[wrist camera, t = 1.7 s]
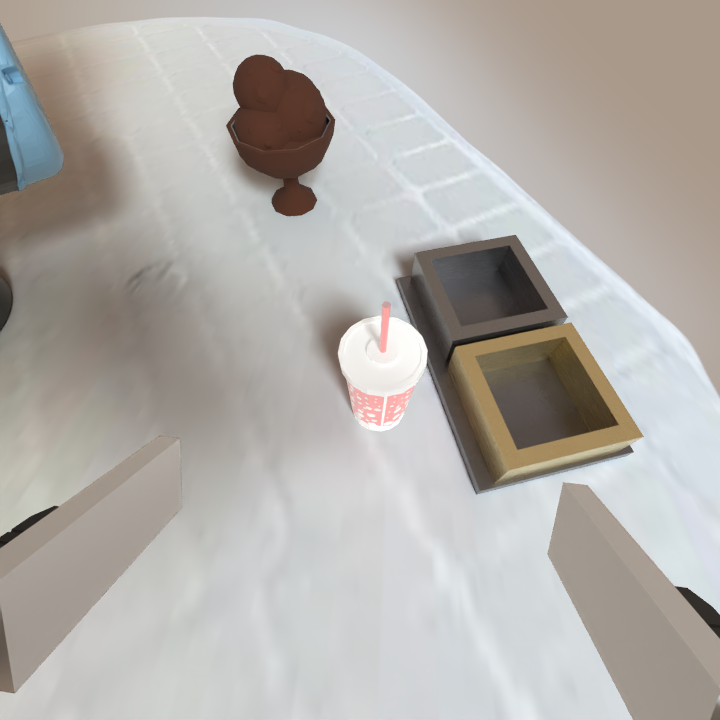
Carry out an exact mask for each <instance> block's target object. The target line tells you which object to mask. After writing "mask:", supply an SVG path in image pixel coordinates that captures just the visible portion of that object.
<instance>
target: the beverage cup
mask: <svg viewBox="0 0 720 720" xmlns="http://www.w3.org/2000/svg"><path fill="white" fill-rule="evenodd" d="M390 306H391V304H390V303H389V302H384V303H383V305H382V316H376V317H371V318H366V319H363V320H361V321H359V322H358V323H356V324H354V325H353V326H351V327H350V328H349V329H348V330H347V332H346V333H345V334H344V336H343V337H342V338H341V341H340V346H339V350H338V357H339V362H340V366H341V370H342V374H343V375H344V376H345V378H346V380H347V385H348V390H349V395H350V399H351V404H352V409H353V413H354V417H355V418H356V419H357V421H358V422H359V423H360V425H362V426H364V427H366V428H367V429H369V430H375V431H384V430H388V429H391V428H392V427H394V426H395V425H397V424H398V423H399V422H400V420H401V418H402V417H403V415H404V412H405V410H406V407H407V405H408V402H409V399H410V397H411V394H412V392H413V389H414V386H415V384H417V382H418V380H419V379H420V377H421V375H422V374H423V372H424V369H425V368H426V363H427V352H428V350H427V347H426V345H425V342H424V339H423V337H422V335H421V334H420V333H419V332H418V331H417V330H416V329H415V328H414V327H413V326H412V325H410V324H408V323H406V322H404V321H402V320H400V319H398V318H394V317H390Z"/></svg>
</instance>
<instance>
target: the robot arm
mask: <svg viewBox="0 0 720 720" xmlns="http://www.w3.org/2000/svg"><path fill="white" fill-rule="evenodd" d="M63 164H64V155H63V151H62V149H61V146H60V144H59V142H58V139H57V137H56V135H55V133H54V131H53V128H52V126H51V124H50V122H49V120H48V118H47V116H46V114H45V112H44V109H43V107H42V105H41V103H40V101H39V99H38V97H37V95H36V93H35V91H34V89H33V87H32V85H31V83H30V81H29V79H28V77H27V75H26V73H25V71H24V69H23V67H22V65H21V63H20V61H19V59H18V57H17V55H16V53H15V51H14V49H13V47H12V45H11V43H10V41H9V39H8V37H7V35H6V33H5V31H4V30H3V28H2V26H1V24H0V195H2V194H5V193H9V192H12V191H16V190H18V191H22V190H23V189H25V188H26V186H27V185H30V184H33V183H36V182H38V181H41V180H44V179H47V178H50V177H52V176H55V175H56V174H57V173H59V172H60V171H61V169H62V166H63ZM11 303H12V295H11V290H10V288H9V285H8V284H7V282H6V281H5V280H4V279H3V278H2V277H1V276H0V329H1V328H2V326H3V325H4V323H5V321H6V319H7V317H8V315H9V312H10V308H11ZM181 508H182V479H181V447H180V438H174V437H165V436H159V437H157V438H156V439H154V440H153V441H151V442H150V443H149V444H147V445H146V446H144V447H143V448H142V449H140V450H139V451H137V452H136V453H134V454H133V455H132V456H130V457H129V458H127V459H126V460H125V461H123V462H122V463H120V464H119V465H118V466H116V467H115V468H113V469H112V470H110V471H109V472H108V473H106V474H105V475H103V476H102V477H101V478H99V479H98V480H96V481H95V482H93V483H92V484H91V485H89V486H88V487H86V488H85V489H84V490H82V491H81V492H79V493H78V494H77V495H75V496H74V497H72V498H71V499H69V500H68V501H67V502H65V503H64V504H62V505H61V506H60V507H59V506H53V507H51V508H49V509H46V510H44V511H42V512H39V513H37V514H35V515H33V516H31V517H29V518H28V519H26V520H25V521H23V522H22V523H20V524H19V525H17V526H16V527H14V528H13V529H12V531H11V532H7V533H6V534H4V535H3V536H1V537H0V691H3V692H9V693H16V692H17V690H18V689H19V688H20V687H21V686H22V685H23V684H24V683H25V682H26V680H27V679H28V678H29V677H30V676H31V675H32V674H33V673H34V672H35V670H36V669H37V668H38V667H39V666H40V665H41V664H42V663H43V662H44V660H45V659H46V658H47V657H48V656H49V655H50V654H51V653H52V652H53V650H54V649H55V648H56V647H57V646H58V645H59V644H60V643H61V642H62V640H63V639H64V638H65V637H66V636H67V635H68V634H69V633H70V632H71V630H72V629H73V628H74V627H75V626H76V625H77V624H78V623H79V622H80V620H81V619H82V618H83V617H84V616H85V615H86V614H87V613H88V612H89V610H90V609H91V608H92V607H93V606H94V605H95V604H96V603H97V602H98V600H99V599H100V598H101V597H102V596H103V595H104V594H105V593H106V592H107V590H108V589H109V588H110V587H111V586H112V585H113V584H114V583H115V582H116V580H117V579H118V578H119V577H120V576H121V575H122V574H123V573H124V571H125V570H126V569H127V568H128V567H129V566H130V565H131V564H132V563H133V561H134V560H135V559H136V558H137V557H138V556H139V555H140V554H141V553H142V551H143V550H144V549H145V548H146V547H147V546H148V545H149V544H150V543H151V541H152V540H153V539H154V538H155V537H156V536H157V535H158V534H159V533H160V531H161V530H162V529H163V528H164V527H165V526H166V525H167V524H168V523H169V521H170V520H171V519H172V518H173V517H174V516H175V515H176V514H177V513H178V511H179V510H180V509H181ZM548 556H549V558H550V560H551V562H552V564H553V566H554V568H555V570H556V571H557V573H558V575H559V577H560V579H561V581H562V583H563V585H564V587H565V589H566V591H567V593H568V595H569V597H570V599H571V600H572V602H573V604H574V606H575V608H576V610H577V612H578V614H579V616H580V618H581V620H582V622H583V624H584V626H585V628H586V629H587V631H588V633H589V635H590V637H591V639H592V641H593V643H594V645H595V647H596V649H597V651H598V653H599V655H600V657H601V658H602V660H603V662H604V664H605V666H606V668H607V670H608V672H609V674H610V676H611V678H612V680H613V682H614V684H615V686H616V687H617V689H618V691H619V693H620V695H621V697H622V699H623V701H624V703H625V705H626V707H627V709H628V711H629V713H630V715H631V716H632V718H633V720H720V615H719V614H718V612H717V611H716V610H715V609H714V608H713V607H712V606H711V605H709V604H708V603H707V602H705V601H704V600H703V599H701V598H700V597H699V596H697V595H696V594H695V593H693V592H692V591H691V590H689V589H688V588H684V587H676V586H674V585H673V584H672V583H671V582H670V581H669V579H668V578H667V577H666V576H665V575H664V574H663V572H662V571H661V570H660V569H659V568H658V567H657V565H656V564H655V563H654V562H653V561H652V560H651V559H650V557H649V556H648V555H647V554H646V553H645V552H644V550H643V549H642V548H641V547H640V546H639V545H638V543H637V542H636V541H635V540H634V539H633V538H632V536H631V535H630V534H629V533H628V532H627V531H626V530H625V528H624V527H623V526H622V525H621V524H620V523H619V521H618V520H617V519H616V518H615V517H614V516H613V514H612V513H611V512H610V511H609V510H608V509H607V508H606V506H605V505H604V504H603V503H602V502H601V501H600V499H599V498H598V497H597V496H596V495H595V494H594V492H593V491H592V490H591V489H590V488H589V487H588V485H581V484H572V483H563V486H562V490H561V495H560V500H559V504H558V509H557V513H556V518H555V522H554V527H553V532H552V536H551V541H550V545H549V550H548Z"/></svg>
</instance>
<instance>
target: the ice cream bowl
mask: <svg viewBox="0 0 720 720" xmlns="http://www.w3.org/2000/svg"><path fill="white" fill-rule="evenodd" d="M233 90H234V95H235V97H236V99H237V102H238V104H239V106H240V108H239V109H238V110H237V111H236V113H235V114H234V115H233V117H232V118H231V120H230V121H229V122H228V124H227V125H226V126H227V129H228V131H229V133H230V135H231V137H232V140H233V142H234V144H235V146H236V148H237V150H238V152H239V154H240V156H241V158H242V159H243V160H244V161H245V162H246V164H247V165H248V166H250V167H252V168H254V169H256V170H258V171H259V172H262V173H264V174H267V175H269V176H272V177H274V178H279V179H283V181H284V187H282V188H280V189H278V190H276V192H275V194H274V196H273V198H272V204H273V207H274V209H275V211H276V212H279V213H281V214H283V215H286V216H297V215H303V214H305V213H307V212H308V211H310V210H312V209H313V208H314V206H315V204H316V201H317V199H316V197H315V195H314V193H313V191H312V189H311V188H309V187H306V186H304V185H301V184H299V182H298V176H300V175H302V174H304V173H306V172H308V171H310V170H312V169H314V168H315V167H316V166H317V165H318V164H319V163H320V162H321V161H322V159H323V157H324V155H325V153H326V151H327V149H328V147H329V144H330V142H331V139H332V136H333V133H334V125H335V119H334V117H333V116H332V115H331V113H330V112H329V110H328V109H327V108H326V106H325V103H324V100H323V98H322V96H321V94H320V91H319V90H318V89H317V88H316V86H315V85H314V84H313V82H312V81H311V80H310V79H309V78H308V77H307V76H305V75H304V74H302V73H299V72H296V71H293V70H284V69H283V67H282V66H281V64H280V63H279V62H277V61H276V60H275V59H274V58H272V57H269V56H265V55H253V56H251V57H248V58H246V59H245V60H244V61H243V62H242V63H241V64H240V65H239V66H238V68H237V70H236V73H235V76H234V81H233Z"/></svg>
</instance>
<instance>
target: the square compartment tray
mask: <svg viewBox="0 0 720 720" xmlns="http://www.w3.org/2000/svg"><path fill="white" fill-rule="evenodd" d="M397 285H398V288H399V291H400V293H401V296H402V298H403V301H404V304H405V306H406V309H407V312H408V314H409V317H410V320H411V322H412V325H413V327H414V328H415V329H416V330H417V331H418V332H419V333H420V334H421V335H422V337H423V339H424V342H425V345H426V347H427V350H428V352H427V365H428V367H429V370H430V372H431V375H432V378H433V380H434V383H435V386H436V388H437V391H438V394H439V396H440V399H441V402H442V404H443V407H444V409H445V412H446V415H447V417H448V420H449V423H450V425H451V428H452V431H453V433H454V436H455V439H456V441H457V444H458V446H459V449H460V452H461V454H462V457H463V460H464V462H465V465H466V468H467V470H468V473H469V476H470V478H471V481H472V483H473V486H474V489H475V491H476V494H480V493H484V492H488V491H492V490H495V489H499V488H503V487H507V486H511V485H515V484H519V483H523V482H527V481H531V480H534V479H538V478H542V477H546V476H550V475H554V474H558V473H562V472H566V471H569V470H573V469H577V468H581V467H585V466H589V465H593V464H597V463H601V462H605V461H608V460H612V459H616V458H620V457H624V456H627V455H629V454H631V453H633V452H634V451H633V450H632V448H631V446H630V444H632V443H633V442H635V441H637V440H639V439H640V438H642V437H644V436H643V435H642V433H641V432H640V430H639V429H638V427H637V425H636V424H635V422H634V421H633V419H632V417H631V416H630V414H629V413H628V411H627V410H626V408H625V406H624V405H623V403H622V402H621V400H620V399H619V397H618V395H617V394H616V392H615V391H614V389H613V387H612V386H611V384H610V383H609V381H608V380H607V378H606V376H605V375H604V373H603V372H602V370H601V369H600V367H599V365H598V364H597V362H596V361H595V359H594V357H593V356H592V354H591V353H590V351H589V350H588V348H587V346H586V345H585V343H584V342H583V340H582V339H581V337H580V335H579V334H578V332H577V331H576V329H575V328H574V326H573V324H572V323H567V324H563V323H564V322H565V320H566V319H567V318H568V316H567V315H566V313H565V312H564V310H563V309H562V307H561V305H560V304H559V302H558V301H557V299H556V298H555V296H554V294H553V293H552V291H551V290H550V288H549V286H548V285H547V283H546V282H545V280H544V279H543V277H542V275H541V274H540V272H539V271H538V269H537V268H536V266H535V264H534V263H533V261H532V260H531V258H530V257H529V255H528V253H527V252H526V250H525V249H524V247H523V245H522V244H521V242H520V241H519V239H518V238H517V236H516V235H512V236H506V237H501V238H495V239H490V240H484V241H479V242H473V243H467V244H462V245H456V246H451V247H445V248H439V249H434V250H428V251H423V252H417V253H415V255H414V262H413V268H412V275H411V276H408V277H402V278H398V283H397Z"/></svg>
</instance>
